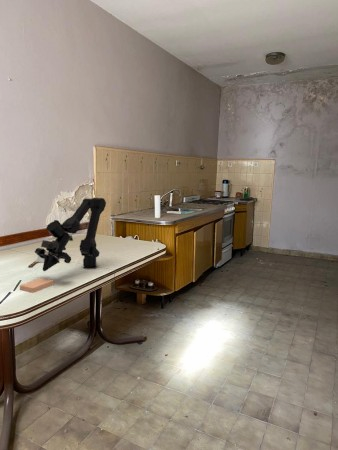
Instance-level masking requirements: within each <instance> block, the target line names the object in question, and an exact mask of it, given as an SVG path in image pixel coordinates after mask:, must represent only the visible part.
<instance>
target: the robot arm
mask: <svg viewBox="0 0 338 450" xmlns="http://www.w3.org/2000/svg"><path fill="white" fill-rule="evenodd" d="M106 205H107V201H106V199H105V198H103V197H92V198H84V199H82V202H81V204H80V205H79V206H78V208H77V209H76V210H75V211H74V213H73V214H72V215H71V216H70V217H68V218H67V219H65V220H64V222H62V223H60V221H59V220H58V219H54V221H52V222H50V223H48V224H47V225H46V231H47V232H48V233H49V234H50V235H51V236H52V237H53V238H54V239H55V240H54V239H53V240H52V241H49V240H42V241H41V245H40V247H38V248H35V250H34V253H35V254H36V255H37V257H38V256H39V257H40V258H43V259H44V263H43V265H42V272H46V271H48V270H49V269H51V268H52V267H53V266H56V265H57V264H60V263H61V260H63V262H64V263H65V264H71V261H72V257H71V255H69V254H68V253H67V251H66V250H67V248H66V246H67V244H68V243H69V241H70V242H73V241H74V239H73V235H72V234H77V232H78V231H79V228H80V227H81V221H82V220H83V219H84V217H85V216H86V214H87V213H88V211H89V210H90V217H89V221H88V226H87V230H86V234H85V237H84V239H81V240H80V244H79V252H80V255H81V256H82V257H83V259H82V265H83V266H82V267H83V269H96V268H97V266H98V264H97V258H99V256H100V251H99V250H98V249H97V242H96V236H97V235H96V234H97V230H98V226H99V221H100V217H101V215H102V213H103V212H104V211H105V208H106ZM44 248H45V249H44ZM64 251H65V252H64Z"/></svg>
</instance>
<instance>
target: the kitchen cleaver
mask: <svg viewBox="0 0 338 450" xmlns="http://www.w3.org/2000/svg"><path fill="white" fill-rule="evenodd" d="M37 257H38V258H37V259H35V260H34V261H33V262H31V263H30V264H29V265H28V267H27V268H30V269H31V268H33V267H34V266H36V265H37V264H44V259H43V258H40V257H39V256H38V255H37Z"/></svg>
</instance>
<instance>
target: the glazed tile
mask: <svg viewBox="0 0 338 450" xmlns="http://www.w3.org/2000/svg"><path fill="white" fill-rule="evenodd" d="M54 284H55V283H54V280H53V279H48V278H45V277H44V278H43V277H39V278H35V279H34V280H30V281H27V282H26V283H23V284H20V285H19V290H20V291H24V292H27V293H28V292H29V293H32V294H33V293H36V292H39V291H41V290H44V289H46V288H48V287H51V286H54Z"/></svg>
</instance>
